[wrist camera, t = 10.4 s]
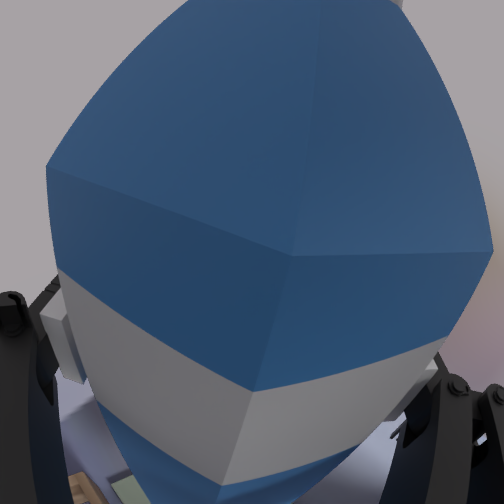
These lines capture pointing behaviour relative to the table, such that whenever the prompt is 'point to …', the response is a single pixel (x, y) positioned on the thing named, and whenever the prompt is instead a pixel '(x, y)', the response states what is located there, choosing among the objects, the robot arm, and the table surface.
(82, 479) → the wooden frame
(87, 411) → the table surface
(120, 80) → the water bottle
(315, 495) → the table surface
